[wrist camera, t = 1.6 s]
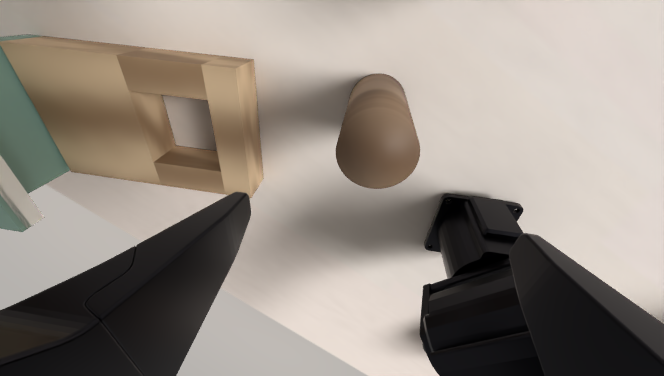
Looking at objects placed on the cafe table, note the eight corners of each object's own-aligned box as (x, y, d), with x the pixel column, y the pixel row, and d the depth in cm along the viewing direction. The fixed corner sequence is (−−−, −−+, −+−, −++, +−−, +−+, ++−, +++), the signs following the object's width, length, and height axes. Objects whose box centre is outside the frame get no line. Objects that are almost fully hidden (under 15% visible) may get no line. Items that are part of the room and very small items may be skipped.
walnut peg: (398, 132, 21) (408, 193, 14) (346, 125, 21) (332, 183, 15) (411, 77, 18) (430, 120, 12) (352, 70, 19) (339, 109, 12)
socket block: (263, 178, 25) (250, 198, 22) (99, 155, 26) (71, 171, 24) (253, 59, 19) (235, 68, 17) (43, 36, 20) (-2, 41, 18)
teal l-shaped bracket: (126, 163, 26) (22, 231, 18) (87, 157, 26) (-31, 223, 19) (72, 31, 20) (-121, 53, 12) (21, 26, 20) (-199, 43, 12)
